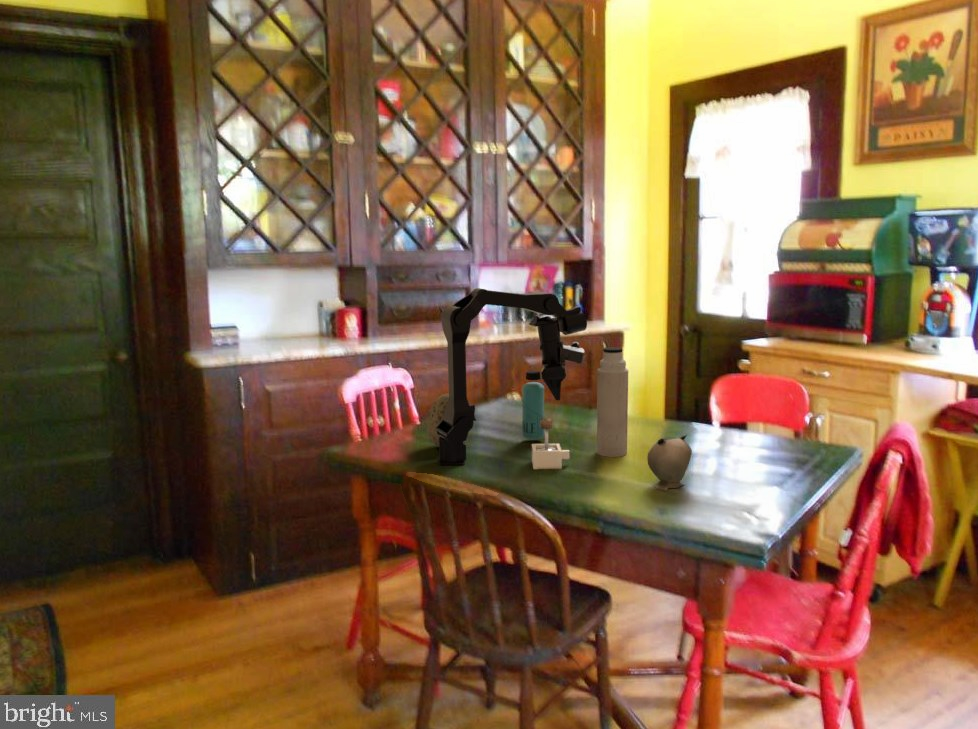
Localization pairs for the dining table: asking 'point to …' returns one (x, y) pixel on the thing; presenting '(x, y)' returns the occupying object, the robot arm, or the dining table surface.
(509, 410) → the dining table surface
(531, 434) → the beverage bottle
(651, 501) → the dining table surface
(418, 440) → the dining table surface
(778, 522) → the dining table surface
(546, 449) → the brown stemmed glass
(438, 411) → the decorative egg
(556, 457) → the square box with handle
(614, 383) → the thermos bottle
